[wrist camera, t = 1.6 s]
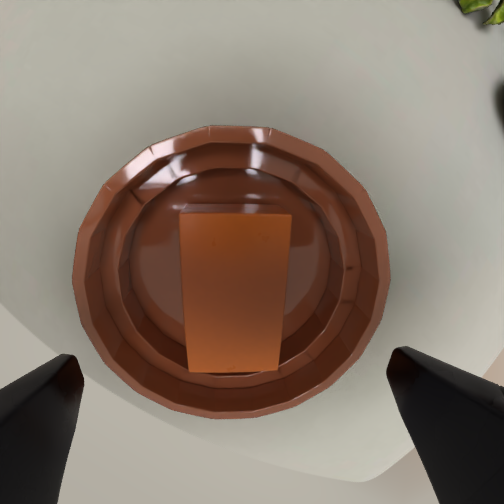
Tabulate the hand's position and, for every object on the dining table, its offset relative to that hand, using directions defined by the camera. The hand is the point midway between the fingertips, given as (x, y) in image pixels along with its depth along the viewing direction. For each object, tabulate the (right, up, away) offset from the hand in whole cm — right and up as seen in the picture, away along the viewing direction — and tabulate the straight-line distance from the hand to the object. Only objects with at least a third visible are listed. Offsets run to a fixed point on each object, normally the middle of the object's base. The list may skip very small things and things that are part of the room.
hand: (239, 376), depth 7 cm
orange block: (-1, +2, +7) cm, 8 cm away
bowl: (-1, +2, +8) cm, 8 cm away
